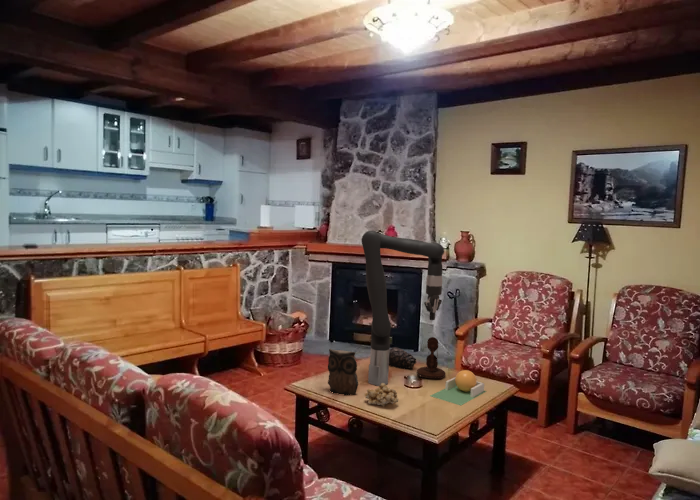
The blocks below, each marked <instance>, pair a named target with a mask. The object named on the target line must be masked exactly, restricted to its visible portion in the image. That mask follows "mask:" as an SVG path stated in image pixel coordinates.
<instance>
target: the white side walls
mask: <svg viewBox="0 0 700 500" xmlns="http://www.w3.org/2000/svg"><path fill="white" fill-rule="evenodd" d="M455 378H456V376H454V377H452V378H450V379H448V380H446V381H445V388H444V389H445V390H449V389H451V388H453V387H455V386H457V385H456V383H455ZM484 391H485V383H484V382H481V381H477V383H476V386H475V387H473V388H471V395H470V397H472V398H473V397H475V396H477V395H478V394H480V393H482V392H484ZM477 397H478V396H477Z"/></svg>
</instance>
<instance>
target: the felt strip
mask: <svg viewBox="0 0 700 500" xmlns="http://www.w3.org/2000/svg"><path fill="white" fill-rule="evenodd" d="M486 392H487V390H484V392H482V393H480V394H478V395H477V396H475V397H473V398H472V397H470V395H471V391H468V392H465V391H462V390H460V389H459V388H458V387H457V386H455V387H453V388H451V389H449V390H445V388H443V389H441V390H440V391H436V392H434V393H432V394H431V395H429V397H431V398H435V399H439V400H441V401H444V402H448V403H451V404H454V405H458V406H459V407H460V406H463V405H465V404H467V403H468V402H470V401H472V400H474V399H476V398H477V397H479V396H481V395H483V394H484V393H486Z"/></svg>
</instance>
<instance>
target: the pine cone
mask: <svg viewBox="0 0 700 500" xmlns="http://www.w3.org/2000/svg"><path fill="white" fill-rule="evenodd" d="M416 364H417V358H416V357H414V356H413V354H411V353H409V352H408V351H406V350H403V349H401V348H399V347H397V346H396V347H391V348H390V350H389V367H393V368H396V369H401V370H407V371H414V365H416Z"/></svg>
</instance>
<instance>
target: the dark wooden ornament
mask: <svg viewBox="0 0 700 500" xmlns="http://www.w3.org/2000/svg"><path fill="white" fill-rule="evenodd" d="M426 344H427V345H426V346H427V349H428V350H429V352H430V354H429V355H427V356H426V359H425V360H426V361H425V364H426V366H422V367H419V368H417V369H416V374H417V375H418V376H420V378H421V377H422V379H423V378H426V379H439V381H440V380H441V381H442V378H445V377H446V371H445V370H444V369H442V368H440V367H438V365H439V360H438V358H439V351H438V349H439V341H438V339H437V338H436V337H434V336H430V337H429V338H428V339H427V341H426ZM435 352H436V355H435V354H434V353H435Z"/></svg>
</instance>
